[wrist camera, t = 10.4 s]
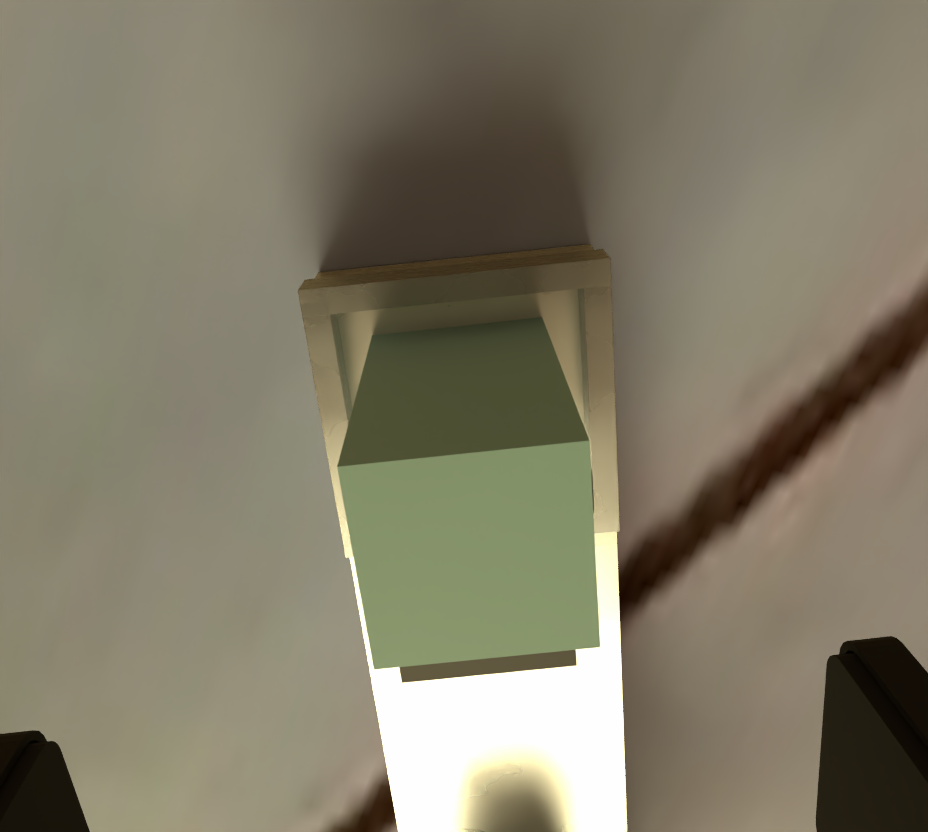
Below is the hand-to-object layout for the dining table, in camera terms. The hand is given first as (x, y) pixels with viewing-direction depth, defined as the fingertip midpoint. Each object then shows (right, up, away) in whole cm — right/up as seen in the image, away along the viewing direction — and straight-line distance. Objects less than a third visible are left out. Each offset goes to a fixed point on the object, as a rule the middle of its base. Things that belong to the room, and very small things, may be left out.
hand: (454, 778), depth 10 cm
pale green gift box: (0, +5, +10) cm, 11 cm away
